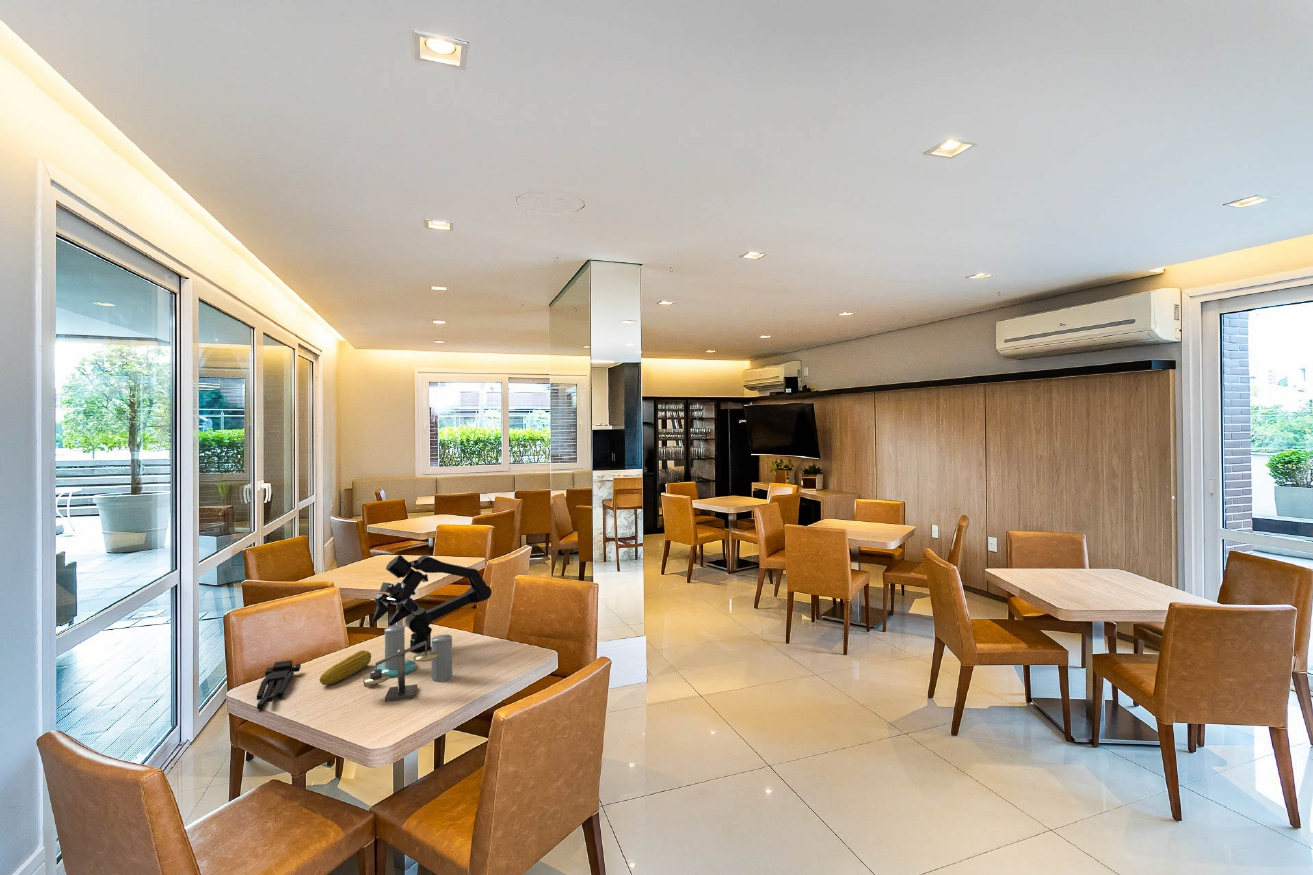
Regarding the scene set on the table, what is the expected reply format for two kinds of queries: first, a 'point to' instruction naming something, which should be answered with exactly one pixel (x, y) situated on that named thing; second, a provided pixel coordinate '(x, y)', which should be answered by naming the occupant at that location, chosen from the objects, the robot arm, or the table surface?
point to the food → (346, 667)
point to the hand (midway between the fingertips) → (381, 623)
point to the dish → (409, 668)
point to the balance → (399, 674)
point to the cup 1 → (393, 644)
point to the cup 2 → (442, 658)
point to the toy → (276, 681)
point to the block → (370, 685)
